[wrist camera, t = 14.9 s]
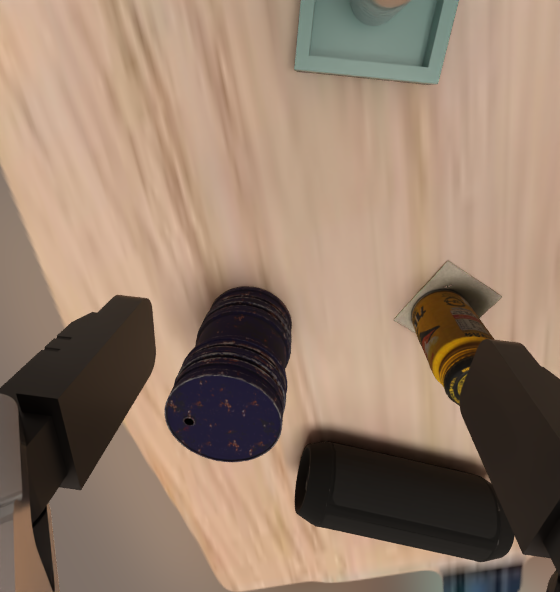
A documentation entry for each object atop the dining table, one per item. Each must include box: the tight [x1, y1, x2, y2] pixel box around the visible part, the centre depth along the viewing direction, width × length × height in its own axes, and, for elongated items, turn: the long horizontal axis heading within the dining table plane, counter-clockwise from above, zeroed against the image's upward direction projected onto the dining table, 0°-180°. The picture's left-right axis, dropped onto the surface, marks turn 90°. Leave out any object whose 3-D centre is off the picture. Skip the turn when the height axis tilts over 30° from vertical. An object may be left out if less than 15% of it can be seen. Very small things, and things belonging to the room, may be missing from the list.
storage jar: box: [165, 287, 292, 462], centre depth 38 cm, size 10×10×15 cm
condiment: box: [394, 261, 502, 406], centre depth 36 cm, size 7×8×12 cm
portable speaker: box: [295, 442, 514, 562], centre depth 49 cm, size 26×10×10 cm, turn 77°
